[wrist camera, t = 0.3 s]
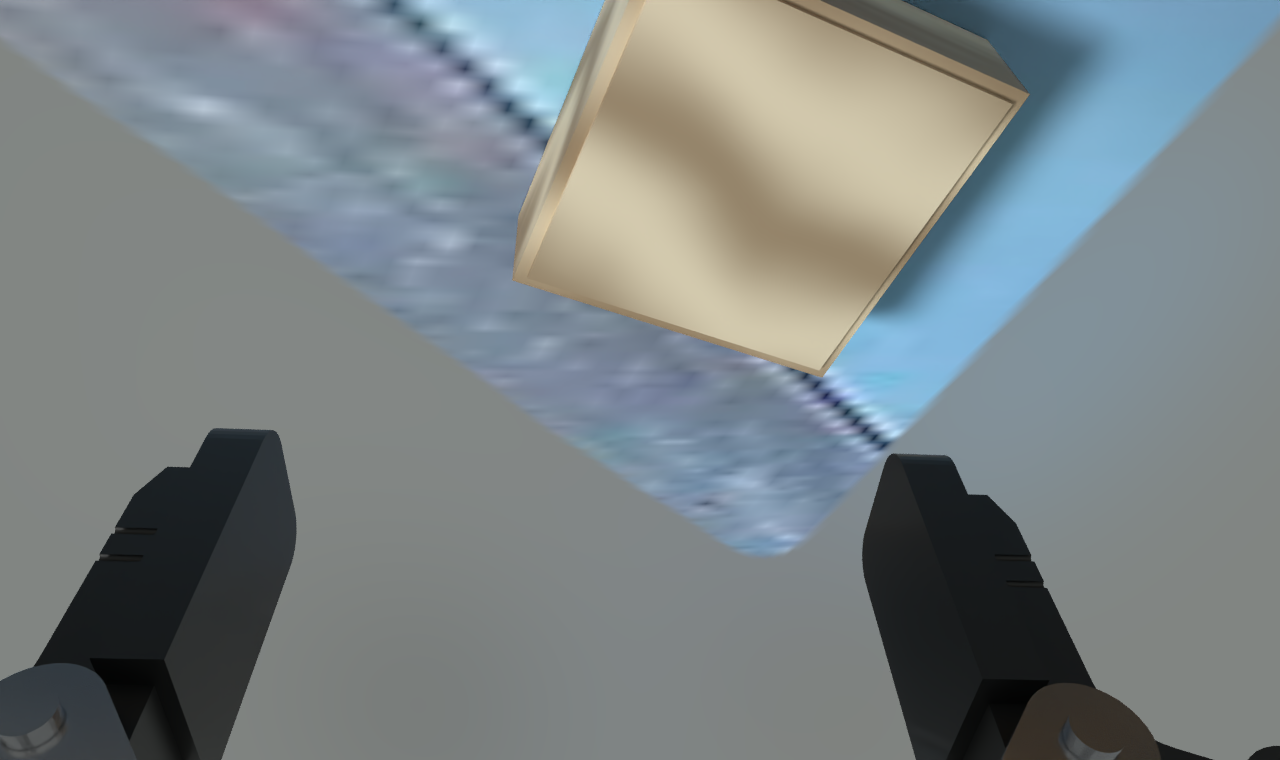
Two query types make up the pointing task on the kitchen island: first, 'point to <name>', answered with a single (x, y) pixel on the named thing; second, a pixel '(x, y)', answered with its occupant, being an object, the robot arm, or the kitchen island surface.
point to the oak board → (758, 165)
